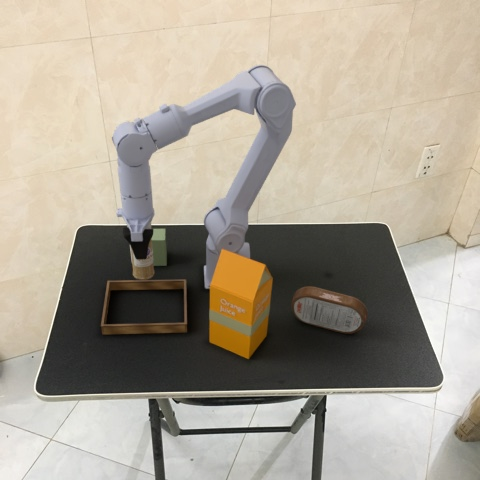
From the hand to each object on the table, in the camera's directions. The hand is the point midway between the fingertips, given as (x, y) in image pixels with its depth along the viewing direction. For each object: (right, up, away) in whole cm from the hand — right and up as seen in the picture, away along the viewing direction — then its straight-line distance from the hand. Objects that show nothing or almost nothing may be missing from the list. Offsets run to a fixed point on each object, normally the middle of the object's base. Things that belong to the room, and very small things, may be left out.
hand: (141, 250), depth 110 cm
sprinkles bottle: (0, -5, +4) cm, 6 cm away
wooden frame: (0, -12, +3) cm, 12 cm away
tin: (+37, -15, +2) cm, 40 cm away
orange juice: (+19, -18, -2) cm, 26 cm away
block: (+1, 0, +15) cm, 15 cm away
